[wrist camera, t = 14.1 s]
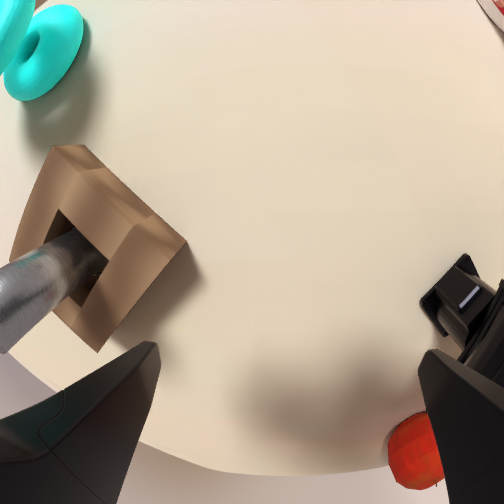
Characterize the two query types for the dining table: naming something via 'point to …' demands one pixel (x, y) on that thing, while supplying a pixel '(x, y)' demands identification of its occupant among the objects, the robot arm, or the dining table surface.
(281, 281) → the dining table surface
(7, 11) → the donuts
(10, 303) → the steel pin
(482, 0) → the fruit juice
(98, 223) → the block
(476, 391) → the robot arm
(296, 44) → the dining table surface
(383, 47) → the dining table surface
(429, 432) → the apple
